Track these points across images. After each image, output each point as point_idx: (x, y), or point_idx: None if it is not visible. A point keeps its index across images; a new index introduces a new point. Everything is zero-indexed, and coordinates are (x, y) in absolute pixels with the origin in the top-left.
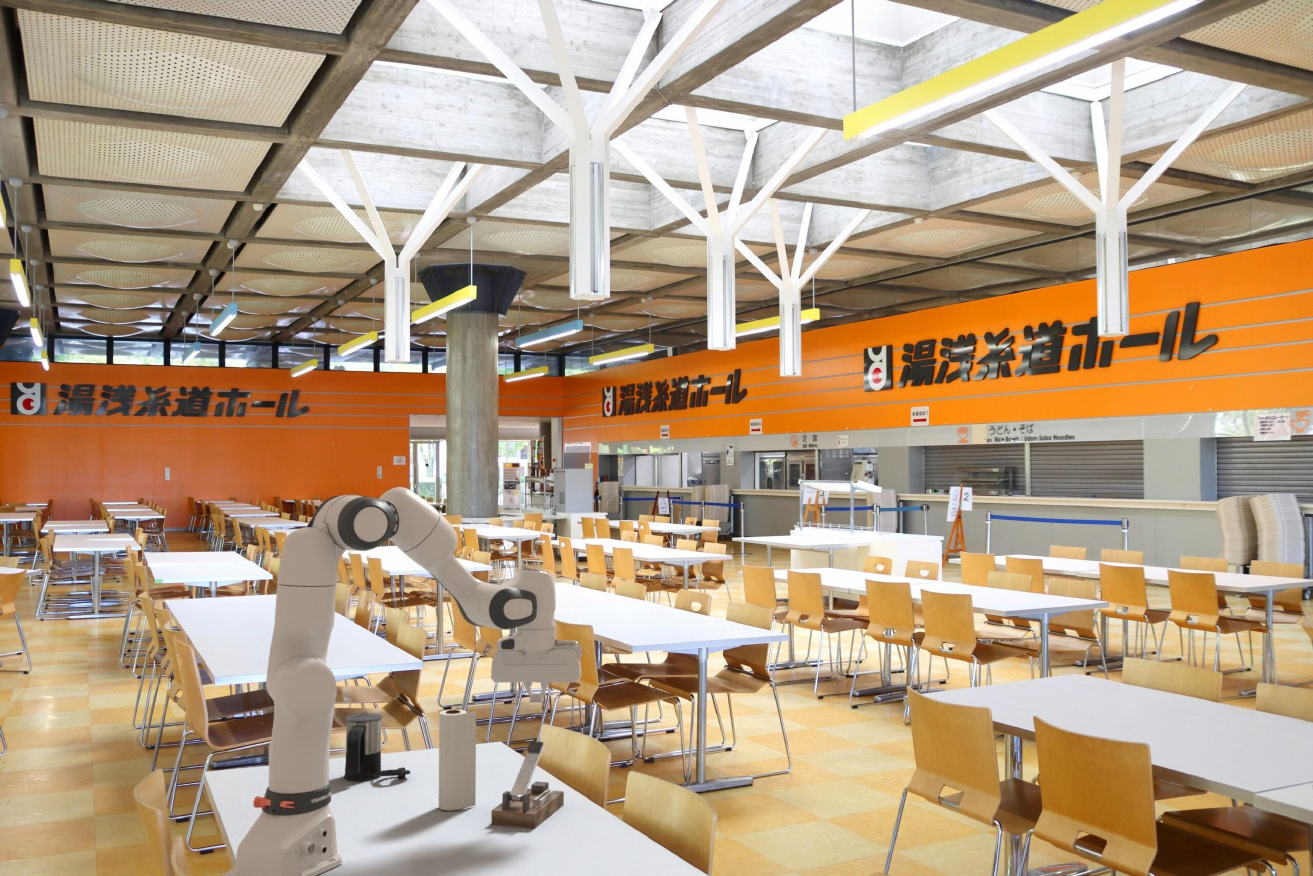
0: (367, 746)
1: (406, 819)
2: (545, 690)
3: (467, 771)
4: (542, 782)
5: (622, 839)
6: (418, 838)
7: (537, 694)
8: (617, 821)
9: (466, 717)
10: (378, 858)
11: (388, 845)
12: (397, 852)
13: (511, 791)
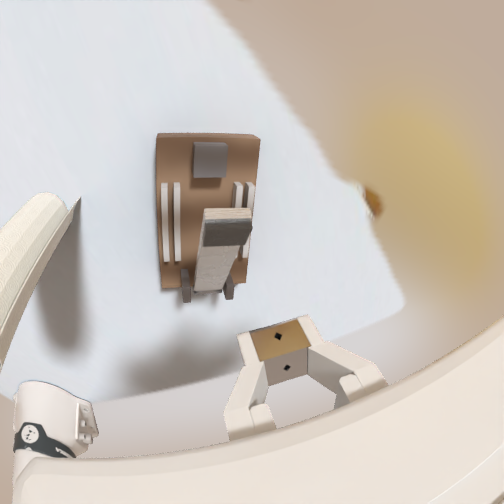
0: None
1: None
2: (344, 355)
3: (51, 247)
4: (213, 151)
5: (363, 268)
6: (99, 342)
7: (294, 372)
8: (357, 203)
9: (4, 349)
10: (107, 388)
11: (86, 364)
12: (112, 375)
13: (195, 288)
